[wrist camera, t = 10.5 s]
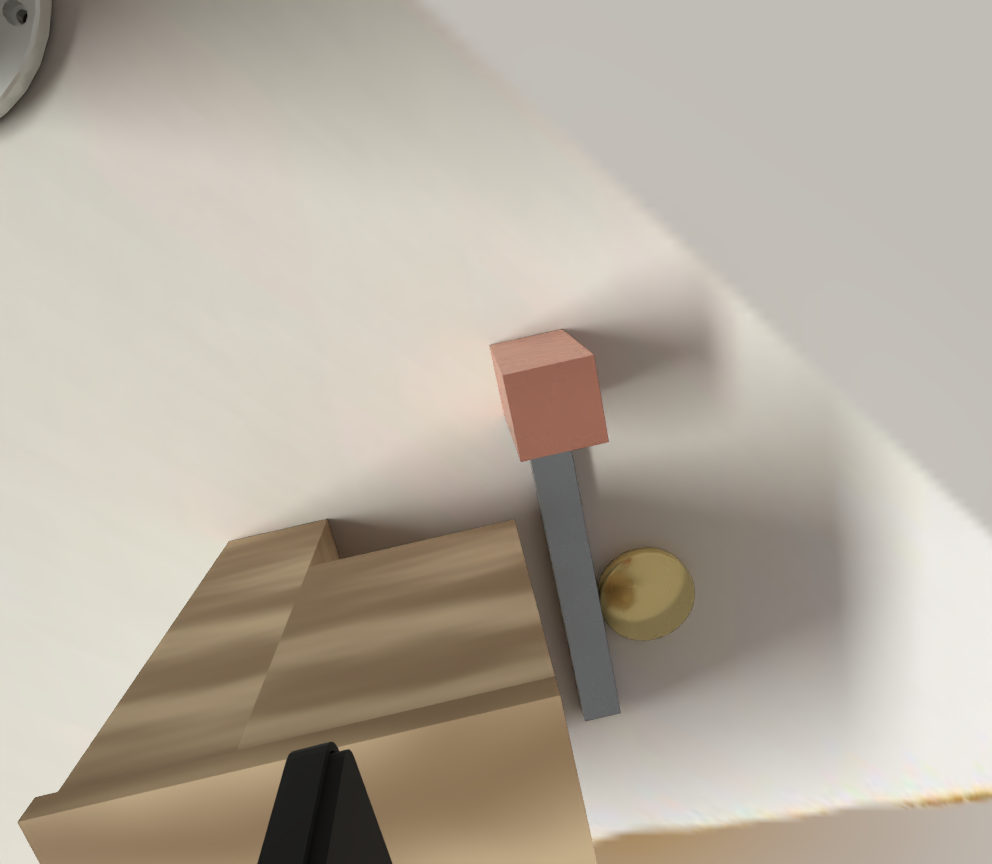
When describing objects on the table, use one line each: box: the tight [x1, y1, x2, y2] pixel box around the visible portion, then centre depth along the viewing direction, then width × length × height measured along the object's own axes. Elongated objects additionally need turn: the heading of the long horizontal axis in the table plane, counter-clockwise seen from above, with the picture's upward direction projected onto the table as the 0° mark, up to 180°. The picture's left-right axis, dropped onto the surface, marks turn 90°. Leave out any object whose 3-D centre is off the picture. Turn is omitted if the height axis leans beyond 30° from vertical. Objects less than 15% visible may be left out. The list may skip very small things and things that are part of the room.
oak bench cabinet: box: [18, 519, 597, 864], centre depth 28 cm, size 16×14×17 cm
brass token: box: [597, 547, 695, 641], centre depth 36 cm, size 5×5×1 cm
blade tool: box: [489, 329, 621, 721], centre depth 32 cm, size 21×4×7 cm, turn 12°
